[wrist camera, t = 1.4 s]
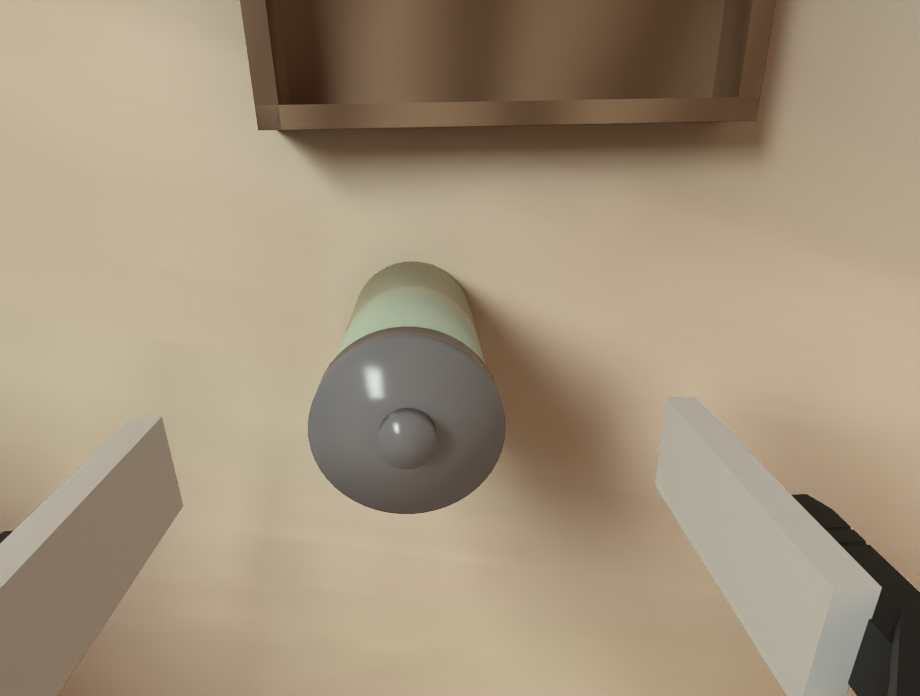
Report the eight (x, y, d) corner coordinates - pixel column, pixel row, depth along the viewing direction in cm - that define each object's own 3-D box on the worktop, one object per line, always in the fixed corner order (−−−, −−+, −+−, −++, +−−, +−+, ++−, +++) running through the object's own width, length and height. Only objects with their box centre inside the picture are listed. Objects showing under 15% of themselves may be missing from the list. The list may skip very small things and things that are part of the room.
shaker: (357, 376, 26) (315, 532, 16) (345, 260, 24) (291, 354, 14) (474, 371, 26) (507, 521, 16) (473, 256, 24) (509, 345, 14)
